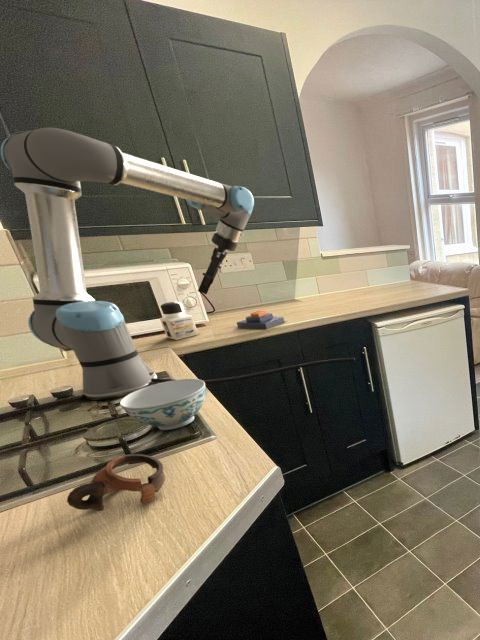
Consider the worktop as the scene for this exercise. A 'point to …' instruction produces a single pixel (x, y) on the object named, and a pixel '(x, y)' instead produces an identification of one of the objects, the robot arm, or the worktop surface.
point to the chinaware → (166, 403)
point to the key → (258, 313)
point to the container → (177, 321)
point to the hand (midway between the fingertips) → (205, 287)
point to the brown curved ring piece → (117, 483)
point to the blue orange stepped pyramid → (260, 322)
